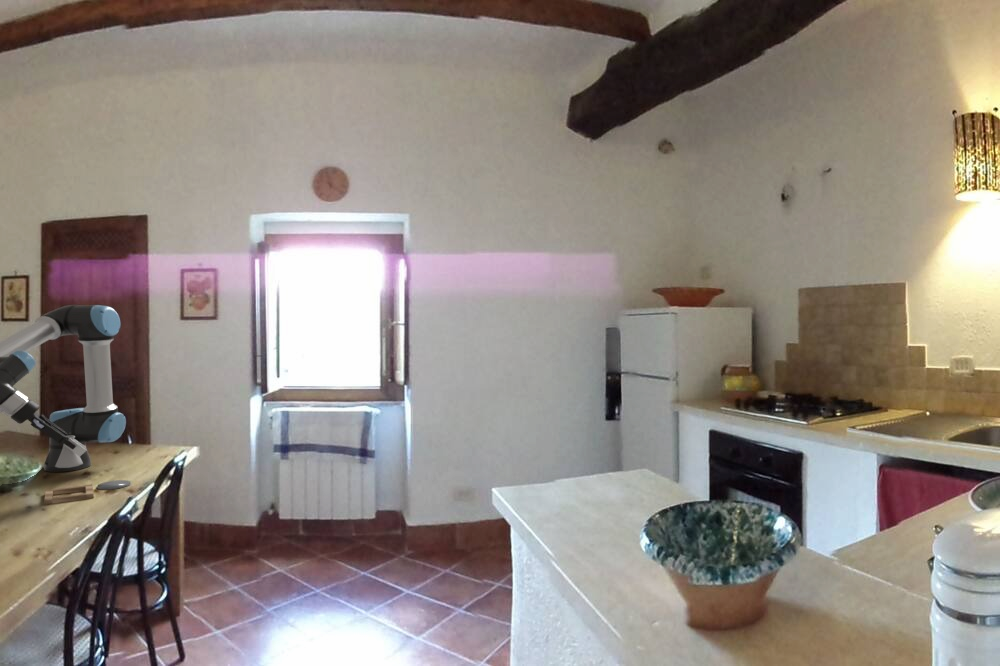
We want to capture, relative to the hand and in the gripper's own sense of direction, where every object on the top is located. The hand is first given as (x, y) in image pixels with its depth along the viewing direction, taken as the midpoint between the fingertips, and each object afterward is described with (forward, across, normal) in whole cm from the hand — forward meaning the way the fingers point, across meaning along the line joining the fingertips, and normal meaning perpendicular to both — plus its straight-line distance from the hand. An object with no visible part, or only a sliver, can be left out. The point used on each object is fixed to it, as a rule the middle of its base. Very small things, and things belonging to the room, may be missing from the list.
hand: (83, 451), depth 201 cm
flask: (0, 0, -6) cm, 6 cm away
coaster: (+17, -6, -4) cm, 18 cm away
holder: (+8, 0, -13) cm, 15 cm away
